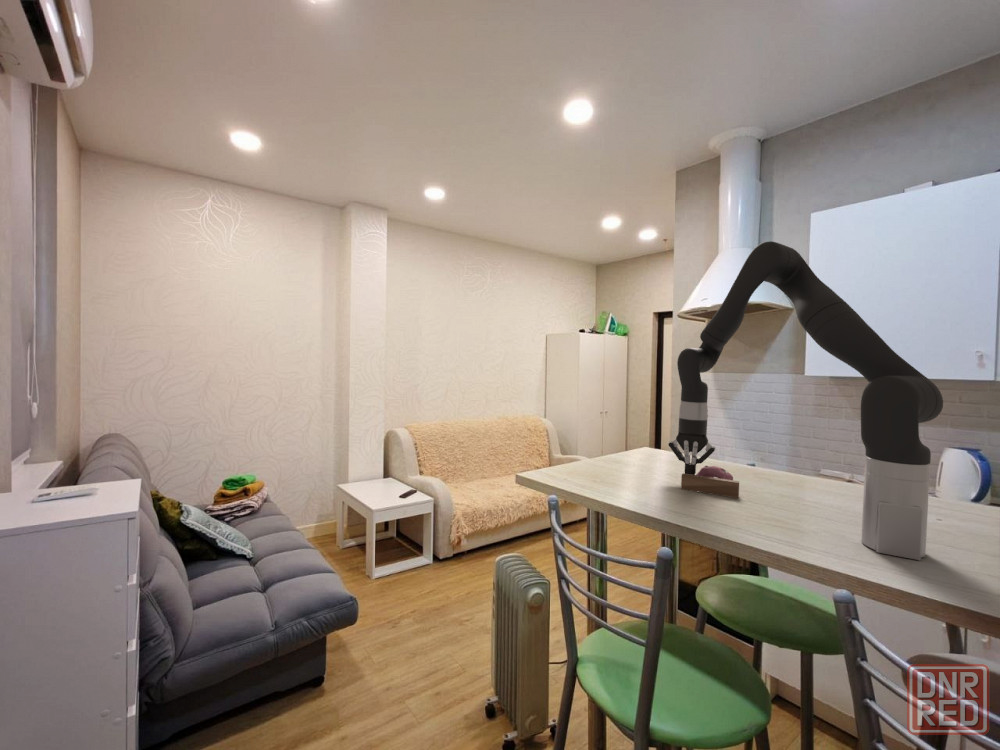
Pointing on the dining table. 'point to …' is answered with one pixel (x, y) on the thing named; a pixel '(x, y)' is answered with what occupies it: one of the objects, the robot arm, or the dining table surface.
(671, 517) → the dining table surface
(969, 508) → the dining table surface
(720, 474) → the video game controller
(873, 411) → the robot arm
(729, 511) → the dining table surface
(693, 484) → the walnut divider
